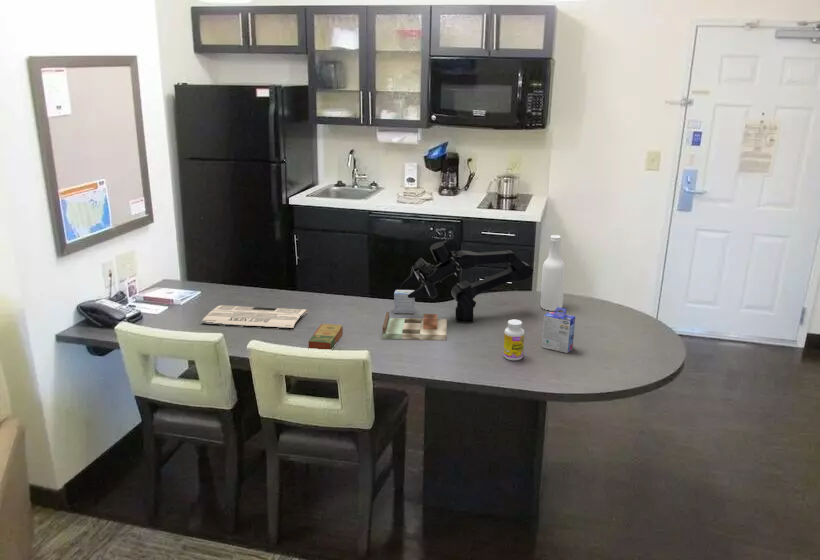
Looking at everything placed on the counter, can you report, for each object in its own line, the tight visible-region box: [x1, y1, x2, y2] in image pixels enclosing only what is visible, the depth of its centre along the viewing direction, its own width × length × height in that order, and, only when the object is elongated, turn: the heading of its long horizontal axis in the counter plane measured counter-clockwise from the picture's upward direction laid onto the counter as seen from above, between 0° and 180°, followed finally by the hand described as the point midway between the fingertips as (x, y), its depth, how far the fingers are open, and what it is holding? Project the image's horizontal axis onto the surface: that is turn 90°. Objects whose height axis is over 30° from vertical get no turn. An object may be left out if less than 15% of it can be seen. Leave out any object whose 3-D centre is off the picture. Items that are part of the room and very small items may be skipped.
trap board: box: [382, 311, 448, 341], centre depth 249 cm, size 23×15×4 cm, turn 86°
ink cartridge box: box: [541, 307, 576, 354], centre depth 232 cm, size 10×6×14 cm, turn 58°
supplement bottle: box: [503, 318, 525, 361], centre depth 226 cm, size 7×7×13 cm
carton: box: [308, 323, 344, 349], centre depth 240 cm, size 8×16×4 cm, turn 170°
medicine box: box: [393, 289, 416, 315], centre depth 267 cm, size 8×4×9 cm, turn 84°
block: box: [422, 313, 438, 329], centre depth 248 cm, size 5×5×4 cm
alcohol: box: [540, 234, 566, 312], centre depth 266 cm, size 9×9×30 cm
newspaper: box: [201, 304, 309, 329], centre depth 262 cm, size 37×19×3 cm, turn 81°
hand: (404, 291), depth 250 cm, fingers open, 9 cm apart
